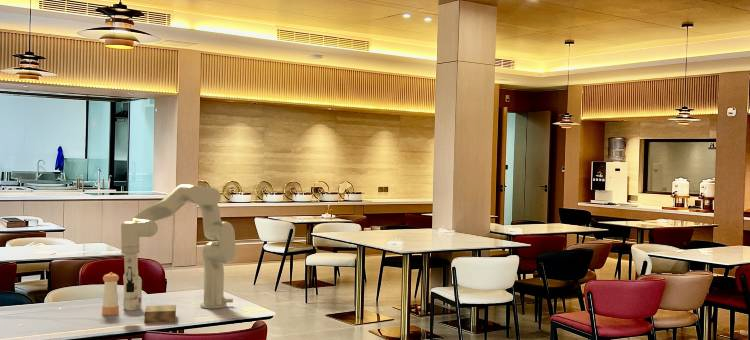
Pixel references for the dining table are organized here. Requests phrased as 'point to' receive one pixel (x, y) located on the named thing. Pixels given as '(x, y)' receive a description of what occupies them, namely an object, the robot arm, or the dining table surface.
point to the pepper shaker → (110, 295)
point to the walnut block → (160, 314)
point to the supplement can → (139, 292)
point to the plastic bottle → (131, 294)
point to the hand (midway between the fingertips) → (130, 290)
